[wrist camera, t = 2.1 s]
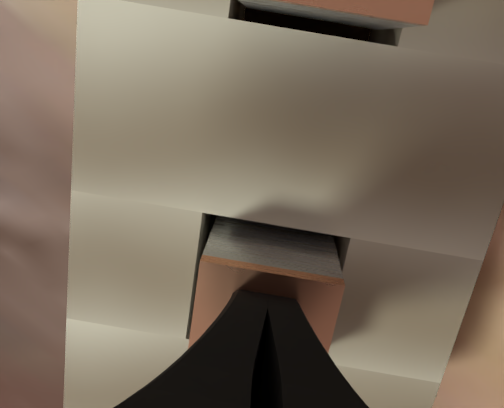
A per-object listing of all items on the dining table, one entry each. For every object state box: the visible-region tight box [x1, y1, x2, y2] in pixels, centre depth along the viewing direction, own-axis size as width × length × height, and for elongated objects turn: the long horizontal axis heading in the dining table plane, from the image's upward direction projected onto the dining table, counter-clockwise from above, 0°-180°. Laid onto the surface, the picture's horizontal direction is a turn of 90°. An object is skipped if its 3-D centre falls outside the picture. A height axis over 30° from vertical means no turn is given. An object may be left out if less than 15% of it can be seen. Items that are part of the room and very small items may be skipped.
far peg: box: [188, 215, 345, 353], centre depth 12 cm, size 3×3×4 cm
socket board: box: [63, 0, 504, 408], centre depth 13 cm, size 18×10×4 cm, turn 171°
